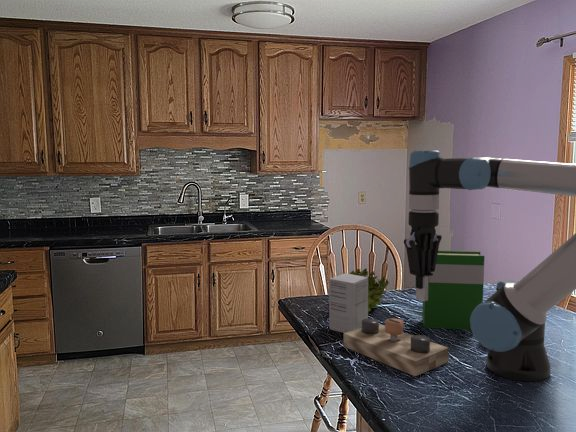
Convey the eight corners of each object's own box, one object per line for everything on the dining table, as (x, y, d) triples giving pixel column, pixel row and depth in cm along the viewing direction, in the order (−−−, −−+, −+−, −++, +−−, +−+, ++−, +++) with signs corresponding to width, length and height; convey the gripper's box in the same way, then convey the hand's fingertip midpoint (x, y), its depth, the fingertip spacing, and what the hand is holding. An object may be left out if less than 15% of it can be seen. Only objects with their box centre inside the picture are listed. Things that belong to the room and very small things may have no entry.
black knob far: (382, 344, 150) (382, 321, 150) (370, 348, 147) (370, 325, 147) (369, 339, 154) (369, 317, 154) (358, 343, 151) (358, 320, 150)
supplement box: (344, 321, 172) (344, 272, 169) (368, 327, 166) (369, 276, 164) (328, 329, 164) (328, 278, 162) (352, 335, 158) (353, 282, 156)
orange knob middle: (406, 345, 143) (407, 320, 142) (394, 350, 140) (395, 324, 139) (392, 340, 147) (393, 316, 146) (381, 344, 144) (381, 320, 143)
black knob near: (433, 364, 136) (434, 339, 136) (421, 369, 133) (422, 343, 132) (418, 358, 140) (418, 333, 139) (406, 363, 137) (406, 338, 136)
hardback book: (477, 322, 169) (479, 251, 166) (481, 330, 162) (484, 256, 159) (422, 320, 172) (423, 250, 169) (424, 327, 165) (426, 254, 162)
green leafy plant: (333, 289, 195) (362, 260, 197) (362, 319, 192) (392, 289, 194) (336, 285, 177) (369, 253, 179) (368, 318, 174) (401, 286, 176)
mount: (448, 362, 138) (448, 347, 137) (415, 376, 129) (415, 361, 129) (376, 335, 158) (376, 323, 158) (343, 346, 150) (343, 333, 149)
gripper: (427, 207, 138) (425, 292, 141) (395, 211, 131) (394, 301, 133) (451, 209, 133) (449, 298, 135) (419, 214, 125) (417, 307, 128)
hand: (422, 299), depth 134 cm, fingers closed
